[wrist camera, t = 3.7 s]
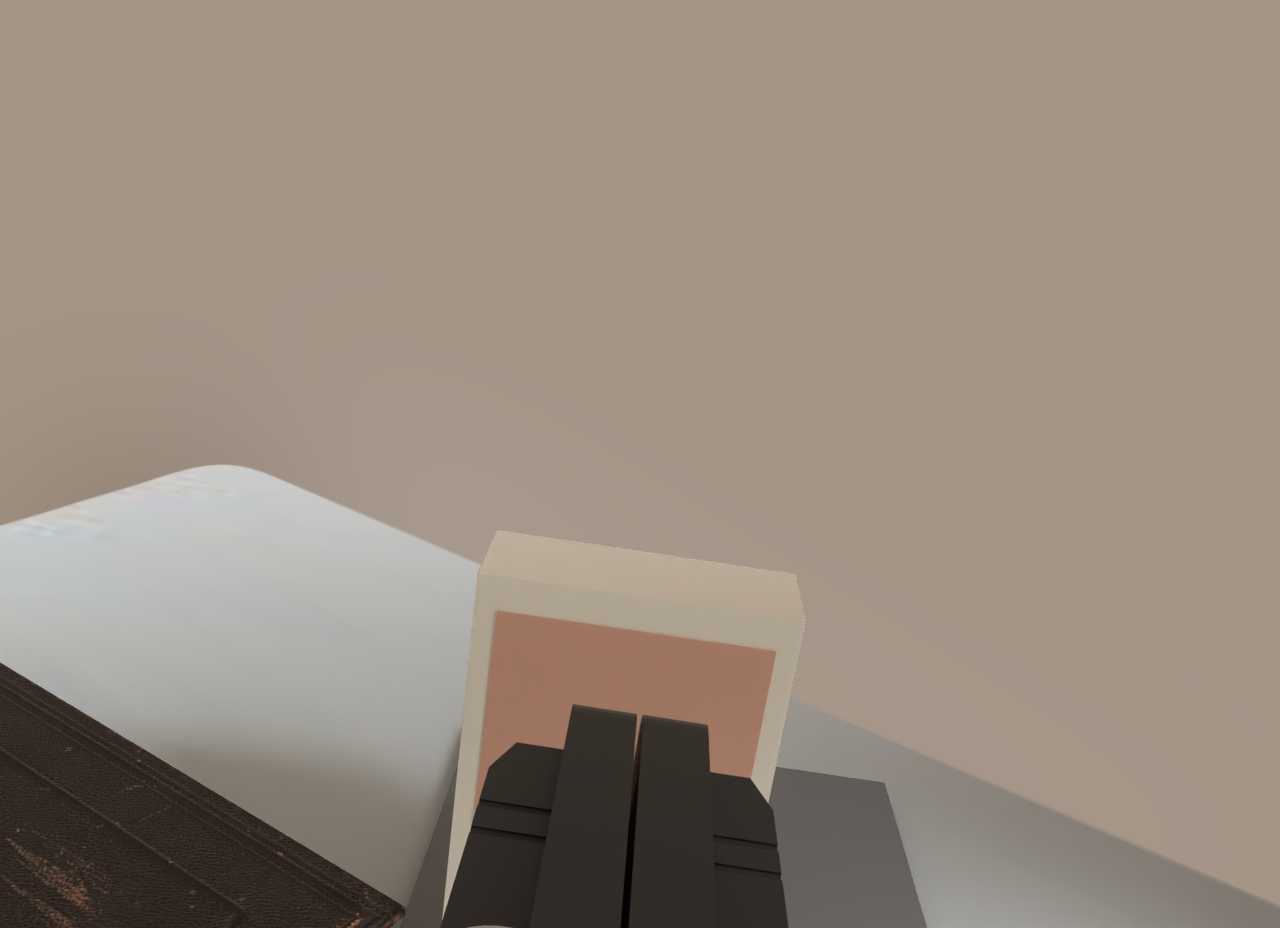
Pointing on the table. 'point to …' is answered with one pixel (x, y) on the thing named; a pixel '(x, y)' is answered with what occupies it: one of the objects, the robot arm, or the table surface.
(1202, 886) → the table surface
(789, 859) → the charcoal mat
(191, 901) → the hardcover book
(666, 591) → the cream box
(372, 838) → the table surface
